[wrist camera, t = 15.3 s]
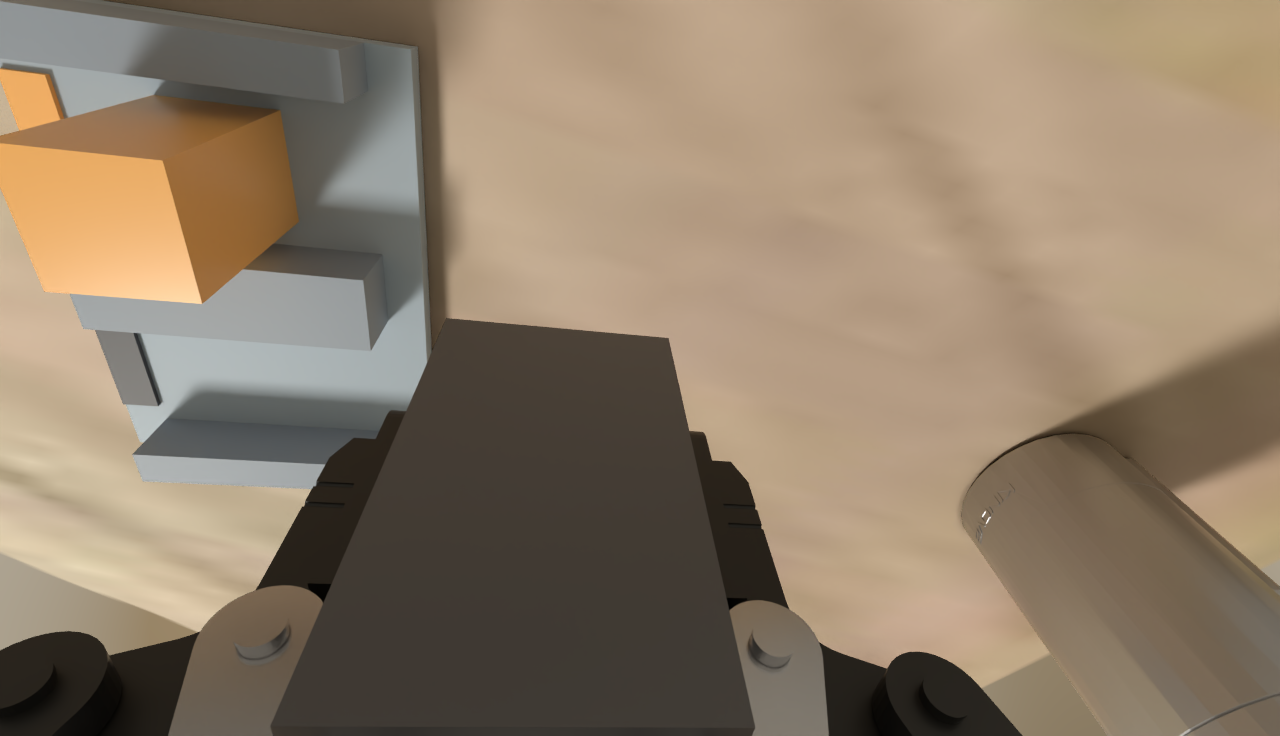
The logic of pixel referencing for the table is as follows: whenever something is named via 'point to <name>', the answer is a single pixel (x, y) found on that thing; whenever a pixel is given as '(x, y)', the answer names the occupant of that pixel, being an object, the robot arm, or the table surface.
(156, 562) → the table surface
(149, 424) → the comb board
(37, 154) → the orange plug
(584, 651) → the black plug
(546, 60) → the table surface
